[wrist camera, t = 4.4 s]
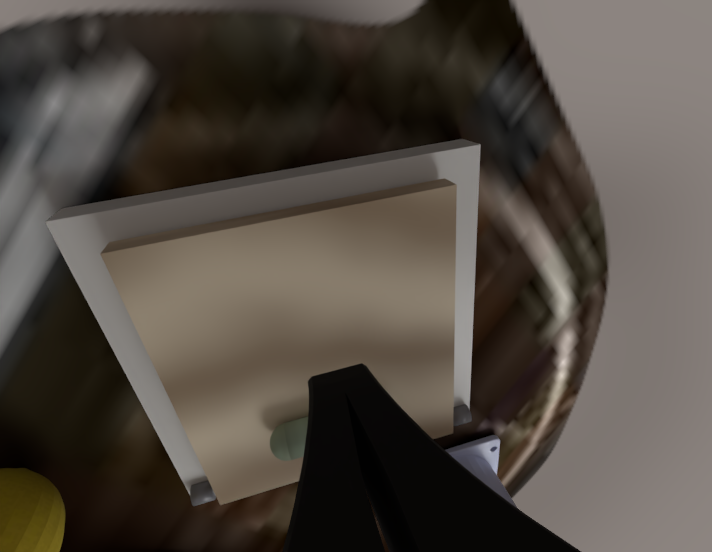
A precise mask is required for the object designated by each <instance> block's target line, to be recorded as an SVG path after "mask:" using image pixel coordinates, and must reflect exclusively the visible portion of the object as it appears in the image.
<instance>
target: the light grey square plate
mask: <svg viewBox="0 0 712 552" xmlns="http://www.w3.org/2000/svg"><path fill="white" fill-rule="evenodd" d="M480 145H481V144H477V143H474V142H471V141H468V140H465V139H459V140H453V141H447V142H441V143H436V144H430V145H424V146H418V147H413V148H407V149H401V150H395V151H390V152H384V153H378V154H372V155H366V156H361V157H355V158H349V159H343V160H338V161H332V162H326V163H320V164H315V165H309V166H303V167H297V168H292V169H286V170H280V171H274V172H269V173H263V174H257V175H251V176H245V177H240V178H234V179H228V180H222V181H217V182H211V183H205V184H199V185H194V186H188V187H182V188H176V189H171V190H165V191H159V192H153V193H148V194H142V195H136V196H130V197H124V198H119V199H113V200H107V201H101V202H96V203H90V204H84V205H78V206H73V207H67V208H62V209H61V210H59V211H58V212H57V213H56V214H54V215H53V216H52V217H50V218H49V219H48V220H47V221H45V223H46V225H47V227H48V229H49V231H50V232H51V234H52V236H53V238H54V240H55V242H56V244H57V246H58V248H59V249H60V251H61V253H62V255H63V257H64V259H65V261H66V263H67V265H68V266H69V268H70V270H71V272H72V274H73V276H74V278H75V280H76V281H77V283H78V285H79V287H80V289H81V291H82V293H83V295H84V297H85V298H86V300H87V302H88V304H89V306H90V308H91V310H92V312H93V314H94V315H95V317H96V319H97V321H98V323H99V325H100V327H101V329H102V331H103V332H104V334H105V336H106V338H107V340H108V342H109V344H110V346H111V347H112V349H113V351H114V353H115V355H116V357H117V359H118V361H119V363H120V364H121V366H122V368H123V370H124V372H125V374H126V376H127V378H128V380H129V381H130V383H131V385H132V387H133V389H134V391H135V393H136V395H137V397H138V398H139V400H140V402H141V404H142V406H143V408H144V410H145V412H146V413H147V415H148V417H149V419H150V421H151V423H152V425H153V427H154V429H155V430H156V432H157V434H158V436H159V438H160V440H161V442H162V444H163V446H164V447H165V449H166V451H167V453H168V455H169V457H170V459H171V461H172V462H173V464H174V466H175V468H176V470H177V472H178V474H179V476H180V478H181V479H182V481H183V483H184V485H185V487H186V489H187V491H188V493H189V495H190V498H191V502H192V505H193V506H196V505H200V504H203V503H206V502H209V501H213V500H215V498H216V495H215V493H214V491H213V489H212V487H211V485H210V483H209V480H208V478H207V476H206V474H205V472H204V470H203V468H202V466H201V464H200V462H199V460H198V457H197V455H196V453H195V451H194V449H193V447H192V445H191V443H190V441H189V439H188V437H187V434H186V432H185V430H184V428H183V426H182V424H181V422H180V420H179V418H178V416H177V414H176V411H175V409H174V407H173V405H172V403H171V401H170V399H169V397H168V395H167V393H166V391H165V388H164V386H163V384H162V382H161V380H160V378H159V376H158V374H157V372H156V370H155V368H154V365H153V363H152V361H151V359H150V357H149V355H148V353H147V351H146V349H145V347H144V345H143V342H142V340H141V338H140V336H139V334H138V332H137V330H136V328H135V326H134V324H133V322H132V319H131V317H130V315H129V313H128V311H127V309H126V307H125V305H124V303H123V301H122V299H121V296H120V294H119V292H118V290H117V288H116V286H115V284H114V282H113V280H112V278H111V276H110V273H109V271H108V269H107V267H106V265H105V263H104V261H103V259H102V257H101V255H100V253H101V252H102V251H103V250H104V248H105V247H106V246H107V244H108V243H109V242H113V241H118V240H124V239H129V238H134V237H139V236H145V235H150V234H155V233H160V232H166V231H171V230H176V229H181V228H187V227H192V226H197V225H203V224H208V223H213V222H218V221H224V220H229V219H234V218H239V217H245V216H250V215H255V214H260V213H266V212H271V211H276V210H281V209H287V208H292V207H297V206H302V205H308V204H313V203H318V202H323V201H329V200H334V199H339V198H344V197H350V196H355V195H360V194H365V193H371V192H376V191H381V190H386V189H392V188H397V187H402V186H407V185H413V184H418V183H423V182H428V181H434V180H439V179H444V178H445V179H447V180H449V181H451V182H453V183H455V184H456V185H457V201H456V271H455V341H454V412H453V426H458V425H461V424H464V423H467V422H471V421H472V416H471V412H470V386H471V362H472V337H473V313H474V289H475V265H476V241H477V217H478V193H479V169H480Z"/></svg>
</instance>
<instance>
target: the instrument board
mask: <svg viewBox="0 0 712 552" xmlns="http://www.w3.org/2000/svg"><path fill="white" fill-rule="evenodd" d="M456 201H457V185H456V184H455V183H453V182H451V181H449V180H447V179H445V178H444V179H439V180H434V181H428V182H423V183H418V184H413V185H407V186H402V187H397V188H392V189H386V190H381V191H376V192H371V193H365V194H360V195H355V196H350V197H344V198H339V199H334V200H329V201H323V202H318V203H313V204H308V205H302V206H297V207H292V208H287V209H281V210H276V211H271V212H266V213H260V214H255V215H250V216H245V217H239V218H234V219H229V220H224V221H218V222H213V223H208V224H203V225H197V226H192V227H187V228H181V229H176V230H171V231H166V232H160V233H155V234H150V235H145V236H139V237H134V238H129V239H124V240H118V241H113V242H109V243H108V244H107V246H106V247H105V248H104V250H103V251H102V252H101V253H100V255H101V257H102V259H103V261H104V263H105V265H106V267H107V269H108V271H109V273H110V276H111V278H112V280H113V282H114V284H115V286H116V288H117V290H118V292H119V294H120V296H121V299H122V301H123V303H124V305H125V307H126V309H127V311H128V313H129V315H130V317H131V319H132V322H133V324H134V326H135V328H136V330H137V332H138V334H139V336H140V338H141V340H142V342H143V345H144V347H145V349H146V351H147V353H148V355H149V357H150V359H151V361H152V363H153V365H154V368H155V370H156V372H157V374H158V376H159V378H160V380H161V382H162V384H163V386H164V388H165V391H166V393H167V395H168V397H169V399H170V401H171V403H172V405H173V407H174V409H175V411H176V414H177V416H178V418H179V420H180V422H181V424H182V426H183V428H184V430H185V432H186V434H187V437H188V439H189V441H190V443H191V445H192V447H193V449H194V451H195V453H196V455H197V457H198V460H199V462H200V464H201V466H202V468H203V470H204V472H205V474H206V476H207V478H208V480H209V483H210V485H211V487H212V489H213V491H214V493H215V495H216V497H217V499H218V501H219V503H220V505H222V504H226V503H229V502H232V501H235V500H239V499H242V498H245V497H248V496H252V495H255V494H258V493H261V492H264V491H268V490H271V489H274V488H277V487H281V486H284V485H287V484H290V483H294V482H297V481H299V478H300V473H301V468H302V463H303V456H304V449H305V441H306V434H307V425H308V413H309V388H308V380H309V379H310V378H311V377H312V376H315V375H319V374H323V373H327V372H331V371H334V370H338V369H342V368H346V367H349V366H353V365H357V364H361V363H362V364H364V365H366V366H367V367H368V369H369V370H370V372H371V373H372V374H373V376H374V377H375V378H376V379H377V381H378V382H379V383H380V384H381V386H382V387H383V388H384V389H385V390H386V391H387V393H388V394H389V395H390V396H391V397H392V398H393V399H394V400H395V402H396V403H397V404H398V405H399V406H400V407H401V408H402V409H403V410H404V411H405V412H406V413H407V414H408V415H409V416H410V417H411V418H412V419H413V420H414V421H415V422H416V423H417V424H418V425H419V426H420V427H421V428H422V429H423V430H424V431H425V432H426V433H427V434H428V435H429V436H430V437H431V438H432V439H436V438H439V437H442V436H446V435H449V434H452V433H453V412H454V341H455V271H456Z"/></svg>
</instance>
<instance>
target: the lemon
mask: <svg viewBox="0 0 712 552" xmlns="http://www.w3.org/2000/svg"><path fill="white" fill-rule="evenodd" d="M64 526H65V507H64V504H63V500H62V498H61V495H60V493H59V491H58V489H57V488H56V487H55V486H54V485H53V484H52V483H51V482H50V481H49V480H48V479H47V478H46V477H44V476H42V475H41V474H38V473H36V472H33V471H30V470H29V469H27V468H1V469H0V552H59V551H60V548H61V545H62V541H63V535H64Z"/></svg>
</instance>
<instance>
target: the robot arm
mask: <svg viewBox="0 0 712 552" xmlns="http://www.w3.org/2000/svg"><path fill="white" fill-rule="evenodd" d="M308 388H309V413H308V425H307V434H306V441H305V449H304V456H303V463H302V468H301V473H300V478H299V483H298V489H297V494H296V499H295V504H294V508H293V512H292V517H291V521H290V525H289V529H288V533H287V537H286V541H285V544H284V548H283V552H385V550H384V547H383V544H382V541H381V537H380V534H379V531H378V528H377V525H376V522H375V519H374V515H373V512H372V509H371V506H370V503H369V500H368V497H367V494H368V496H369V499H370V501H371V504H372V507H373V509H374V512H375V515H376V517H377V520H378V522H379V525H380V528H381V530H382V533H383V535H384V538H385V541H386V543H387V546H388V549H389V551H390V552H580V551H579V550H578V549H576V548H575V547H573V546H572V545H570V544H569V543H567V542H566V541H564V540H563V539H561V538H560V537H558V536H557V535H555V534H554V533H552V532H551V531H549V530H548V529H546V528H545V527H543V526H542V525H540V524H539V523H538V522H536V521H534V520H533V519H532V518H530V517H529V516H527V515H526V514H524V513H523V512H522V511H520V510H519V509H518V508H517V507H516V505H515V503H514V502H513V500H512V499H511V497H510V496H509V494H508V492H507V491H506V489H505V488H504V486H503V484H502V483H501V481H500V480H499V478H498V477H497V468H498V458H499V448H500V439H499V438H498V437H497V436H496V435H491V436H487V437H484V438H481V439H478V440H475V441H472V442H468V443H465V444H462V445H459V446H456V447H453V448H449V449H446V450H444V449H443V448H442V447H441V446H440V445H439V444H438V443H436V442H435V441H434V440H433V439H432V438H431V437H430V436H429V435H428V434H427V433H426V432H425V431H424V430H423V429H422V428H421V427H420V426H419V425H418V424H417V423H416V422H415V421H414V420H413V419H412V418H411V417H410V416H409V415H408V414H407V413H406V412H405V411H404V410H403V409H402V408H401V407H400V406H399V405H398V404H397V403H396V402H395V400H394V399H393V398H392V397H391V396H390V395H389V394H388V393H387V391H386V390H385V389H384V388H383V387H382V386H381V384H380V383H379V382H378V381H377V379H376V378H375V377H374V376H373V374H372V373H371V372H370V370H369V369H368V367H367V366H366V365H364V364H362V363H361V364H357V365H353V366H349V367H346V368H342V369H338V370H334V371H331V372H327V373H323V374H319V375H315V376H312V377H311V378H310V379H309V380H308ZM365 488H366V489H365ZM366 491H367V493H366Z"/></svg>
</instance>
